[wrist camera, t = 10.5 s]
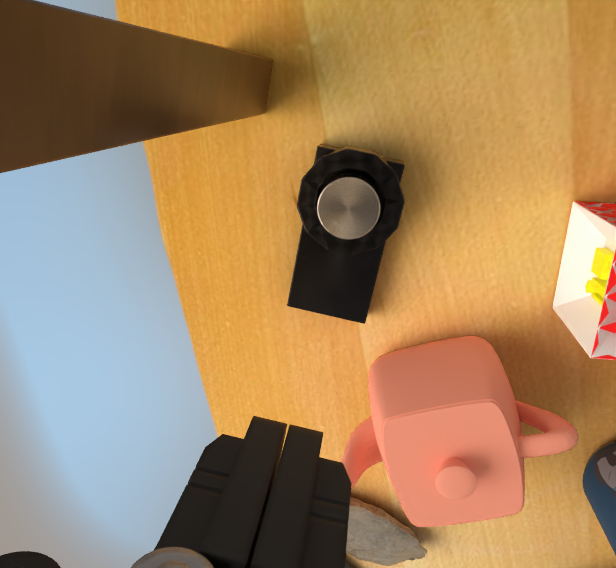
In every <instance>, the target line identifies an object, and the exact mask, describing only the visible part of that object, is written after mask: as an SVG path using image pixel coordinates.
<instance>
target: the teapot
mask: <svg viewBox="0 0 616 568" xmlns="http://www.w3.org/2000/svg"><path fill="white" fill-rule="evenodd" d="M368 384H369V399H370V407H371V414H372V416H371V417H369V418H368V419H366V420H365V421H363V422H362V423H361V424H360V425H359V426H357V427H356V428H355V430H354V431H353V432H352V434H351V436H350V438H349V440H348V442H347V445H346V448H345V451H344V455H343V458H342V461H341V463H343V464H344V467H345V469H346V471H347V474H348V476H349V478H350V481H351V483H352V485H351V488H352V487H353V486H354V485H355V484H356V482H357V481H358V479H359V478H360V476H361V475H362V473H363V472H364V471H365V470H366V469H368V468H369V467H371V466H372V465H374V464H376V463H378V462H381V461H383V463H384V466H385V468H386V470H387V473H388V475H389V478H390V480H391V483H392V485H393V488H394V490H395V492H396V495H397V497H398V499H399V502H400V504H401V506H402V508H403V510H404V512H405V514H406V516H407V517H408V519H409V520H410V522H411V523H412V524H413V525H415V526H417V527H434V526H445V525H453V524H462V523H468V522H475V521H481V520H488V519H494V518H499V517H505V516H509V515H513V514H517V513H519V512H520V511H521V510H522V508H523V505H524V492H525V474H524V458H527V457H538V456H546V455H553V454H558V453H562V452H565V451H567V450H570V449H572V448H573V447H574V446H575V445H576V444H577V442H578V433H577V430H576V429H575V427H574V426H573V425H572V424H571V423H569V422H568V421H567V420H565V419H564V418H562V417H560V416H558V415H556V414H554V413H551V412H549V411H546V410H543V409H541V408H538V407H535V406H532V405H529V404H526V403H523V402H519V401H516V400H515V398H514V394H513V391H512V388H511V385H510V383H509V380H508V378H507V375H506V373H505V370H504V368H503V366H502V363H501V361H500V359H499V357H498V355H497V354H496V352H495V350H494V349H493V348H492V346H491V345H490V344H489V343H488V342H487V341H485V340H484V339H482V338H480V337H477V336H464V337H456V338H451V339H445V340H440V341H434V342H429V343H425V344H420V345H416V346H412V347H408V348H404V349H400V350H396V351H393V352H390V353H387V354H384V355H382V356H380V357H378V358H377V359H376V360H375V361H374V362H373V364H372V366H371V368H370V370H369V380H368ZM520 421H522V422H524V423H526V424H529V425H531V426H533V427H535V428H537V429H539V430H541V431H543V432H544V433H541V434H535V435H527V436H522V430H521V424H520Z"/></svg>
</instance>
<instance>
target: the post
mask: <svg viewBox="0 0 616 568" xmlns="http://www.w3.org/2000/svg"><path fill="white" fill-rule="evenodd" d="M272 63H273V60H272V59H269V58H265V57H261V56H257V55H253V54H249V53H245V52H241V51H237V50H233V49H229V48H225V47H221V46H217V45H213V44H209V43H205V42H201V41H197V40H193V39H188V38H184V37H180V36H176V35H172V34H168V33H164V32H160V31H156V30H152V29H148V28H144V27H140V26H136V25H132V24H128V23H124V22H120V21H116V20H112V19H107V18H104V17H99V16H95V15H91V14H87V13H83V12H79V11H75V10H71V9H67V8H63V7H59V6H55V5H50V4H47V3H43V2H39V1H35V0H0V173H2V172H7V171H12V170H16V169H21V168H25V167H30V166H34V165H38V164H43V163H47V162H52V161H56V160H61V159H65V158H69V157H74V156H78V155H83V154H87V153H92V152H96V151H100V150H105V149H110V148H114V147H118V146H123V145H127V144H132V143H136V142H141V141H145V140H150V139H154V138H159V137H163V136H167V135H172V134H176V133H181V132H185V131H190V130H194V129H199V128H203V127H207V126H212V125H216V124H221V123H225V122H230V121H234V120H239V119H243V118H247V117H252V116H256V115H261V114H265V109H266V103H267V96H268V90H269V83H270V76H271V70H272Z"/></svg>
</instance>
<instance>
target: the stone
mask: <svg viewBox="0 0 616 568" xmlns="http://www.w3.org/2000/svg"><path fill="white" fill-rule="evenodd" d="M349 508H350V509H349V521H348V534H347V546H346V553H348V554H350V555H352V556H354V557H355V558H357V559H360V560H364V561H369V562H373V563H377V564H381V565H385V566H390V565H394V564H397V563H399V562H403V561H405V560H414V559H421V558H423V557H425V554H426V553H427V550H426V549H425V548H423V547H422V546H421V545H420V542H419V540H418V538H417V537H416V536H415V535H414V534H413V532H412V529H411V528H409V527H407V526H404V525H403V524H401V523H400V522H399V521H397V520H396V519H395V518H394V517H392V516H390V515H389V514H387V513H386V512H385V511H384V510H382V509H381V508H378V507H376V506H373V505H370V504H366V503H364V502H362V501H361V500H358V499H355V498H352V497H350V506H349Z"/></svg>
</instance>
